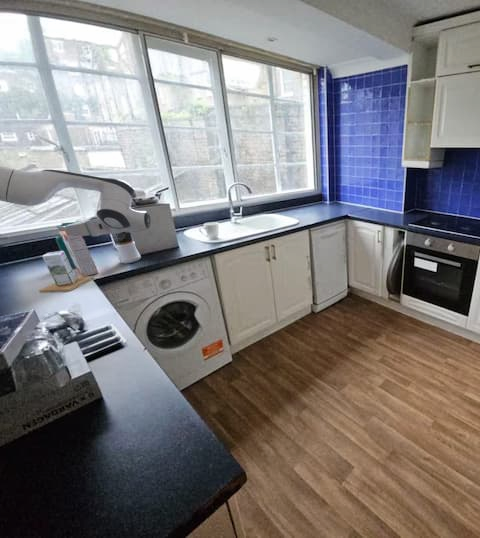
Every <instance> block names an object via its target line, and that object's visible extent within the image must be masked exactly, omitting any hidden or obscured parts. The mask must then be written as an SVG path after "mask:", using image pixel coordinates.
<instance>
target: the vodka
mask: <svg viewBox="0 0 480 538" xmlns="http://www.w3.org/2000/svg"><path fill="white" fill-rule="evenodd" d="M110 235H111V238H112V240H113V242H114V246H115V248H116V250H117V254H118V257H119V258H118V260H119V262H120V263H121V264H133V263H136V262H138V261H140V260H141V259H142V256H141V254H140V253H139V250H138V248H137V246H136V241H134V237H133V235H132V232H120V233H114V234H110Z"/></svg>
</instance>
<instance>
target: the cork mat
mask: <svg viewBox="0 0 480 538" xmlns="http://www.w3.org/2000/svg"><path fill="white" fill-rule="evenodd" d="M93 277H94V276H87V277H84V276H76V278H77V280H76V281H75V282H74V283H73V284H68V285H63V286H57V285H56V283H55V282H53V283H51V284H49V285H47V286H45V287H43V288H41V289H39V290H38V292H39V293H59V292H72V291H73V290H75V289H77V288H79V287H80V285H81V284H83V283H85V282H86V283H88V282H90V281H91V280H90V279H92V278H93ZM89 280H90V281H89ZM92 280H93V279H92ZM87 281H88V282H87ZM86 283H85V284H86ZM83 285H84V284H83ZM78 286H79V287H78ZM81 286H82V285H81ZM76 287H77V288H76ZM74 288H75V289H74ZM72 289H73V290H72Z"/></svg>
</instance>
